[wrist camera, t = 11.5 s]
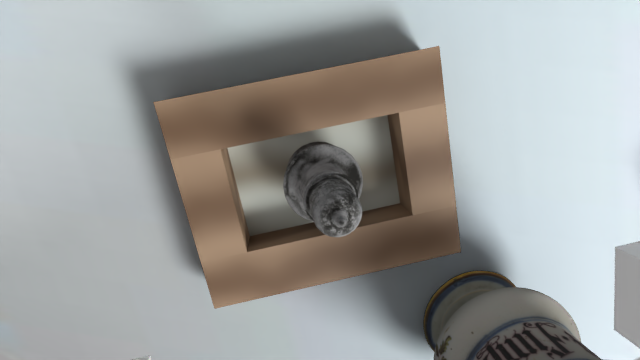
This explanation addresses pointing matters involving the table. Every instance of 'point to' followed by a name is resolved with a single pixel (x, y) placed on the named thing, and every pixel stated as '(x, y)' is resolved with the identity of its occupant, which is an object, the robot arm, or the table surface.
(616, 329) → the robot arm
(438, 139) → the block
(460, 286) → the apothecary jar
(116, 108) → the table surface
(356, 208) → the stone chess piece
